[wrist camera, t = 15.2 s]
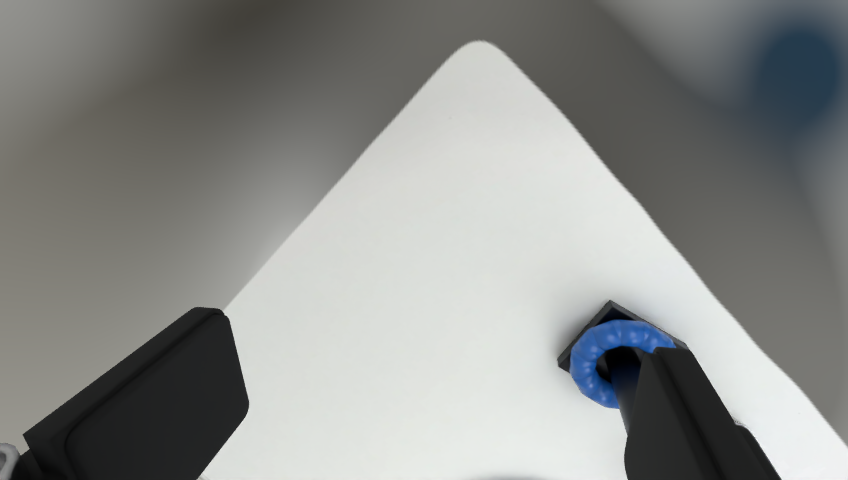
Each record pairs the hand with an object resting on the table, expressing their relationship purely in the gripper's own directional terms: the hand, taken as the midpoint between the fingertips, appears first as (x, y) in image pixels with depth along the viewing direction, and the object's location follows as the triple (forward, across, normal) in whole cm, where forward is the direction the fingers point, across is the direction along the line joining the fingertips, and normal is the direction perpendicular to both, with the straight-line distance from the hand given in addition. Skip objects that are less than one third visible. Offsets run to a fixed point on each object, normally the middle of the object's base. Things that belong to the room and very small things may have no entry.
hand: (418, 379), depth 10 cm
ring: (+26, -12, +18) cm, 34 cm away
